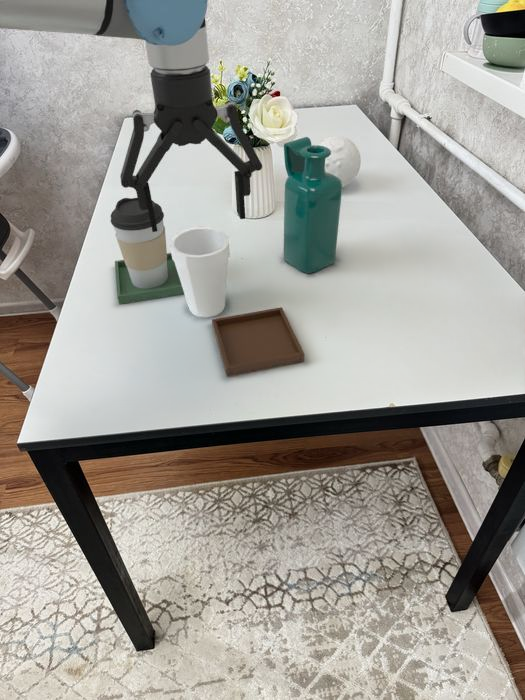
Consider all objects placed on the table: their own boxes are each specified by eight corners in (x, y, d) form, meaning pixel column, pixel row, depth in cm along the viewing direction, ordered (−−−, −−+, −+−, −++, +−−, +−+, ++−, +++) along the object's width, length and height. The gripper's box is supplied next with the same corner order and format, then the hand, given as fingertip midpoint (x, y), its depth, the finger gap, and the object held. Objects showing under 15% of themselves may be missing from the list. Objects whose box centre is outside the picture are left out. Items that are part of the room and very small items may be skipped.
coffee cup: (183, 273, 94) (172, 199, 84) (151, 297, 88) (135, 221, 78) (148, 260, 97) (133, 188, 87) (115, 282, 92) (95, 208, 82)
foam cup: (238, 293, 90) (234, 229, 81) (228, 325, 83) (222, 259, 74) (187, 289, 91) (178, 225, 82) (173, 320, 84) (162, 254, 75)
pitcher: (339, 262, 97) (351, 149, 82) (307, 277, 93) (313, 161, 78) (306, 242, 103) (312, 133, 88) (275, 255, 99) (275, 144, 84)
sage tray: (119, 304, 88) (117, 296, 87) (116, 268, 96) (114, 260, 95) (186, 293, 90) (185, 285, 89) (178, 259, 99) (177, 251, 97)
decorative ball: (305, 194, 119) (308, 144, 111) (313, 175, 128) (316, 127, 120) (355, 199, 117) (361, 148, 109) (359, 178, 126) (365, 130, 117)
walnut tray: (227, 376, 74) (226, 368, 73) (212, 327, 83) (211, 319, 81) (303, 361, 76) (304, 353, 75) (281, 314, 85) (281, 307, 84)
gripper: (267, 52, 66) (269, 199, 81) (77, 68, 62) (115, 221, 76) (283, 65, 61) (282, 221, 75) (76, 84, 57) (117, 245, 71)
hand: (198, 221), depth 76 cm, fingers open, 13 cm apart
